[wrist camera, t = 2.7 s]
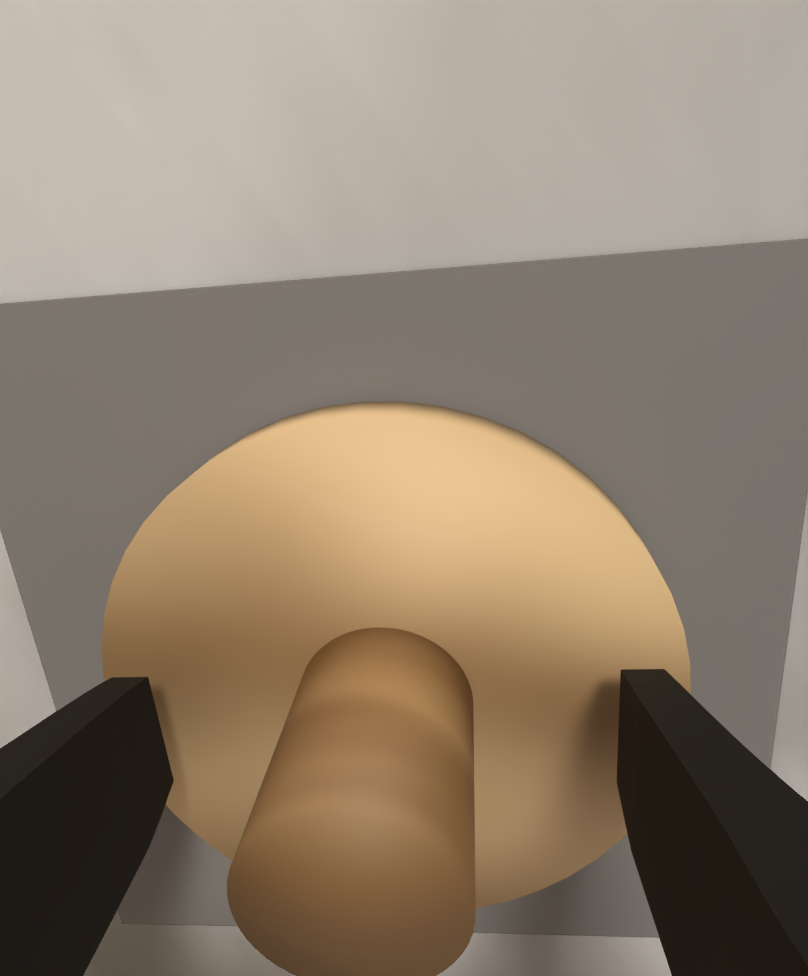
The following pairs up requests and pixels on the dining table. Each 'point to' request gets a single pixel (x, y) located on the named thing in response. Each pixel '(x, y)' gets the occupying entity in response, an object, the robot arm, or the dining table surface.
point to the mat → (453, 384)
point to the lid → (389, 674)
